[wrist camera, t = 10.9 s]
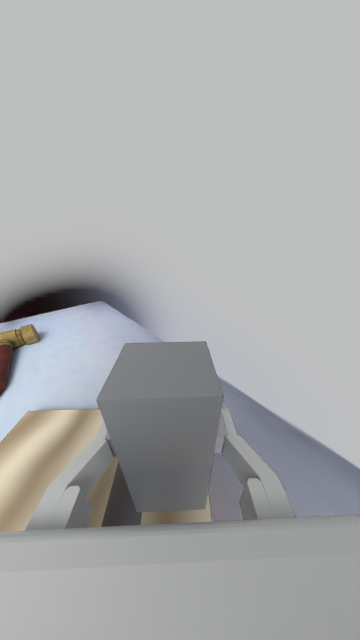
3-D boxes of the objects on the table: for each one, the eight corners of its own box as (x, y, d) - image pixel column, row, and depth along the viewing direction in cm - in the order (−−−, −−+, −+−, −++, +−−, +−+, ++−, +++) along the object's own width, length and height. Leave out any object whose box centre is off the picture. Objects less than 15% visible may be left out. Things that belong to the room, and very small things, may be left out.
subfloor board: (196, 412, 21) (196, 405, 21) (240, 762, 7) (245, 775, 6) (33, 418, 21) (28, 411, 20) (-284, 804, 6) (-336, 823, 6)
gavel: (28, 375, 24) (-84, 416, 18) (40, 394, 26) (-56, 436, 21) (31, 321, 38) (-31, 334, 33) (39, 336, 40) (-18, 351, 35)
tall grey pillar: (197, 443, 14) (205, 338, 9) (204, 509, 10) (223, 396, 6) (146, 445, 14) (126, 340, 9) (137, 512, 10) (96, 400, 5)
